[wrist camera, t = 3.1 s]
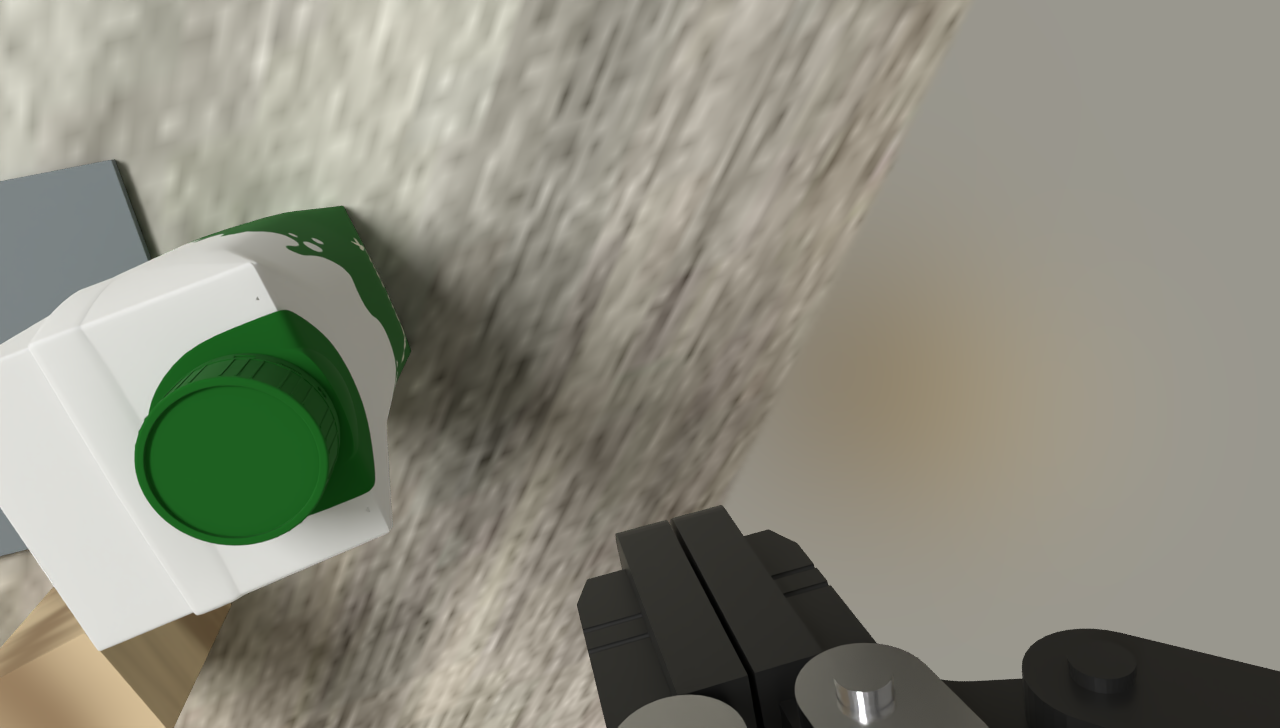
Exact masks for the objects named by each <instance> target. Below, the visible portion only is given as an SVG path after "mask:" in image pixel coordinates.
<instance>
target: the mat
mask: <svg viewBox="0 0 1280 728" xmlns="http://www.w3.org/2000/svg"><path fill="white" fill-rule="evenodd" d="M150 260H151V257H150V254H149V252H148V249H147V246H146V243H145V241H144V238H143V235H142V233H141V230H140V227H139V224H138V222H137V219H136V216H135V213H134V211H133V208H132V205H131V202H130V200H129V197H128V194H127V191H126V189H125V186H124V183H123V181H122V178H121V175H120V172H119V170H118V167H117V164H116V161H115V159H114V160H108V161H103V162H98V163H93V164H87V165H82V166H77V167H72V168H67V169H62V170H56V171H51V172H46V173H41V174H36V175H31V176H26V177H20V178H15V179H10V180H5V181H0V345H1V344H2V343H4V342H6V341H7V340H9V339H11V338H12V337H14V336H16V335H17V334H19V333H21V332H22V331H24V330H26V329H27V328H29V327H31V326H32V325H34V324H36V323H38V322H39V321H41V320H43V319H44V318H46V317H48V316H49V315H51V314H52V312H53V311H54V310H55V309H56V308H57V307H58V306H59V305H60V304H61V303H62V302H64V301H65V300H66V299H67V298H69V297H70V296H71V295H73V294H74V293H76V292H77V291H79V290H81V289H84V288H87V287H89V286H92V285H95V284H97V283H100V282H103V281H105V280H108V279H111V278H113V277H115V276H117V275H119V274H121V273H123V272H126V271H128V270H130V269H132V268H134V267H137V266H139V265H141V264H143V263H145V262H147V261H150ZM27 549H28V548H27V546H26V545H25V543H24V542H23V540H22V539H21V537H20V536H19V534H18V533H17V531H16V530H15V528H14V527H13V525H12V524H11V523H10V521H9V520H8V518H7V517H6V515H5V514H4V512H3V511H2V509H1V508H0V556H3V555H7V554H11V553H15V552H19V551H23V550H27Z"/></svg>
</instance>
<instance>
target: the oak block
mask: <svg viewBox="0 0 1280 728" xmlns="http://www.w3.org/2000/svg"><path fill="white" fill-rule="evenodd" d="M230 607H231V603H229V604H226V605H224V606H222V607H220V608H217V609H215V610H212V611H210V612H207V613H205V614H201V615H196V614H195V613H191V614H189V615H186V616H184V617H182V618H179V619H177V620H174V621H172V622H170V623H167V624H165V625H162V626H160V627H158V628H155V629H153V630H150V631H148V632H146V633H143V634H141V635H138V636H136V637H134V638H131V639H129V640H126V641H124V642H122V643H119V644H117V645H114V646H112V647H109V648H107V649H104V650H102V651H98V650H97V649H96V647H95V646H94V644H93V643H92V641H91V640H90V639H89V637H88V636H87V634H86V633H85V631H84V630H83V628H82V627H81V625H80V624H79V622H78V621H77V619H76V618H75V617H74V615H73V614H72V612H71V611H70V609H69V608H68V606H67V605H66V603H65V602H64V600H63V599H62V597H61V596H60V595H59V593H58V592H57V590H56V589H55V587H53V588H52V589H51V590H50V592H49V593H48V594H47V595H46V596H45V597H44V598H43V600H42V601H41V602H40V603H39V604H38V605H37V606H36V608H35V609H34V610H33V611H32V612H31V613H30V615H29V616H28V617H27V618H26V619H25V620H24V621H23V623H22V624H21V625H20V626H19V627H18V628H17V629H16V631H15V632H14V633H13V634H12V635H11V636H10V638H9V639H8V640H7V641H6V642H5V643H4V644H3V646H2V647H1V648H0V728H174V726H175V724H176V722H177V719H178V717H179V715H180V713H181V711H182V709H183V707H184V705H185V702H186V700H187V698H188V696H189V694H190V692H191V690H192V688H193V685H194V683H195V681H196V679H197V677H198V675H199V673H200V671H201V668H202V666H203V664H204V662H205V660H206V658H207V656H208V654H209V652H210V649H211V647H212V645H213V643H214V641H215V639H216V637H217V635H218V632H219V630H220V628H221V626H222V624H223V622H224V620H225V618H226V615H227V613H228V611H229V609H230Z"/></svg>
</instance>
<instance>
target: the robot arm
mask: <svg viewBox="0 0 1280 728" xmlns="http://www.w3.org/2000/svg"><path fill="white" fill-rule="evenodd" d="M616 542H617V548H618V552H619V557H620V561H621V566H622V570H620V571H617V572H613V573H609V574H606V575H602V576H598V577H595V578H591V579H588V580H587V581H586V584H585V586H584V589H583V591H582V594H581V596H580V598H579V601H578V603H577V607H578V611H579V616H580V620H581V624H582V628H583V632H584V636H585V640H586V645H587V649H588V653H589V657H590V661H591V665H592V669H593V673H594V678H595V682H596V686H597V690H598V694H599V698H600V702H601V707H602V711H603V715H604V719H605V723H606V727H607V728H1280V671H1275V670H1271V669H1267V668H1263V667H1259V666H1255V665H1251V664H1247V663H1243V662H1239V661H1234V660H1230V659H1226V658H1222V657H1217V656H1214V655H1210V654H1205V653H1201V652H1197V651H1193V650H1189V649H1185V648H1181V647H1177V646H1173V645H1169V644H1164V643H1160V642H1156V641H1151V640H1148V639H1144V638H1140V637H1136V636H1131V635H1127V634H1123V633H1118V632H1114V631H1108V630H1099V629H1073V630H1065V631H1061V632H1056V633H1053V634H1051V635H1048V636H1045V637H1044V638H1042V639H1040V640H1038V641H1037V642H1035V643H1034V644H1033V645H1032V646H1030V648H1029V649H1028V651H1027V652H1026V653H1025V656H1024V658H1023V661H1022V676H1023V679H1007V680H989V681H966V682H965V681H964V682H963V681H948V680H941V679H940V678H939V677H938V676H937V675H936V674H935V673H934V672H933V671H932V670H930V668H929V667H928V666H927V665H926V664H924V663H923V662H922V661H921V660H920V659H918V658H917V657H915V656H914V655H912V654H910V653H909V652H906V651H904V650H902V649H899V648H896V647H892V646H889V645H883V644H877V643H876V642H875V640H874V639H873V638H872V637H871V635H870V634H869V633H868V632H867V630H866V629H865V628H864V627H863V625H862V624H861V623H860V622H859V620H858V619H857V618H856V617H855V615H854V614H853V613H852V612H851V610H850V609H849V608H848V606H847V605H846V604H845V603H844V602H843V600H842V599H841V598H840V596H839V595H838V594H837V593H836V591H835V590H834V589H833V588H832V586H829V585H828V583H827V580H826V579H825V578H824V576H823V575H822V574H821V573H820V571H819V570H818V569H817V568H815V567H814V564H813V563H812V561H811V560H810V559H809V557H808V556H807V555H806V554H805V553H804V551H803V550H802V549H801V547H800V546H799V545H798V544H797V543H796V542H793V541H791V540H789V539H787V538H785V537H783V536H781V535H779V534H777V533H775V532H773V531H771V530H765V531H761V532H758V533H754V534H750V535H747V536H743V534H742V533H741V532H740V530H739V529H738V527H737V526H736V524H735V523H734V521H733V520H732V518H731V517H730V516H729V514H728V512H727V511H726V510H725V508H724V507H723V506H722V505H720V506H716V507H712V508H709V509H705V510H701V511H698V512H694V513H690V514H686V515H683V516H679V517H675V518H672V519H671V520H670V524H669V522H668V521H667V520H665V521H661V522H657V523H654V524H650V525H646V526H642V527H639V528H635V529H631V530H628V531H624V532H620V533H616Z"/></svg>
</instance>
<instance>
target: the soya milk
mask: <svg viewBox="0 0 1280 728" xmlns="http://www.w3.org/2000/svg"><path fill="white" fill-rule="evenodd" d="M410 353H411V349H410V347H409V344H408V341H407V338H406V336H405V333H404V330H403V328H402V325H401V323H400V321H399V319H398V316H397V314H396V312H395V309H394V307H393V305H392V303H391V300H390V298H389V296H388V294H387V291H386V289H385V287H384V285H383V283H382V281H381V279H380V277H379V275H378V273H377V271H376V269H375V267H374V265H373V263H372V261H371V259H370V257H369V255H368V253H367V251H366V249H365V247H364V245H363V243H362V241H361V239H360V237H359V235H358V233H357V231H356V229H355V227H354V226H353V224H352V222H351V220H350V218H349V216H348V214H347V212H346V210H345V208H344V206H337V207H328V208H319V209H310V210H302V211H294V212H287V213H282V214H278V215H274V216H270V217H266V218H262V219H259V220H255V221H252V222H249V223H245V224H242V225H239V226H235V227H232V228H229V229H226V230H223V231H220V232H217V233H214V234H211V235H208V236H205V237H203V238H200V239H197V240H194V241H192V242H190V243H187V244H185V245H183V246H180V247H178V248H176V249H174V250H172V251H169V252H167V253H165V254H163V255H161V256H158V257H156V258H154V259H152V260H150V261H147V262H145V263H143V264H141V265H139V266H137V267H134V268H132V269H130V270H128V271H126V272H123V273H121V274H119V275H117V276H115V277H113V278H111V279H108V280H105V281H103V282H100V283H97V284H95V285H92V286H89V287H87V288H84V289H81V290H79V291H77V292H76V293H74V294H73V295H71V296H70V297H69V298H67V299H66V300H65V301H64V302H62V303H61V304H60V305H59V306H58V307H57V308H56V309H55V310H54V311H53V312H52V314H51V315H49V316H48V317H46V318H44V319H43V320H41V321H39V322H38V323H36V324H34V325H32V326H31V327H29V328H27V329H26V330H24V331H22V332H21V333H19V334H17V335H16V336H14V337H12V338H11V339H9V340H7V341H6V342H4V343H2V344H1V345H0V508H1V509H2V511H3V512H4V514H5V515H6V517H7V518H8V520H9V521H10V523H11V524H12V525H13V527H14V528H15V530H16V531H17V533H18V534H19V536H20V537H21V539H22V540H23V542H24V543H25V545H26V546H27V548H28V549H29V550H30V552H31V553H32V555H33V556H34V558H35V559H36V561H37V562H38V564H39V565H40V567H41V568H42V570H43V571H44V572H45V574H46V575H47V577H48V578H49V580H50V581H51V583H52V584H53V586H54V587H55V589H56V590H57V592H58V593H59V595H60V596H61V597H62V599H63V600H64V602H65V603H66V605H67V606H68V608H69V609H70V611H71V612H72V614H73V615H74V617H75V618H76V619H77V621H78V622H79V624H80V625H81V627H82V628H83V630H84V631H85V633H86V634H87V636H88V637H89V639H90V640H91V641H92V643H93V644H94V646H95V647H96V649H97V650H98V651H102V650H104V649H107V648H109V647H112V646H114V645H117V644H119V643H122V642H124V641H126V640H129V639H131V638H134V637H136V636H138V635H141V634H143V633H146V632H148V631H150V630H153V629H155V628H158V627H160V626H162V625H165V624H167V623H170V622H172V621H174V620H177V619H179V618H182V617H184V616H186V615H189V614H191V613H195V614H196V615H201V614H205V613H207V612H210V611H212V610H215V609H217V608H220V607H222V606H224V605H226V604H229V603H231V602H233V601H235V600H237V599H239V598H240V597H242V596H243V595H245V594H247V593H250V592H252V591H255V590H257V589H259V588H262V587H264V586H267V585H269V584H271V583H274V582H276V581H278V580H281V579H283V578H285V577H288V576H290V575H292V574H295V573H297V572H299V571H302V570H304V569H306V568H309V567H311V566H313V565H315V564H318V563H320V562H322V561H325V560H327V559H329V558H332V557H334V556H336V555H339V554H341V553H343V552H346V551H348V550H350V549H353V548H355V547H357V546H360V545H362V544H364V543H366V542H369V541H371V540H373V539H376V538H378V537H380V536H383V535H385V534H387V533H389V531H390V529H391V528H392V527H393V521H392V505H391V490H390V475H389V457H388V438H387V419H388V415H389V411H390V406H391V402H392V398H393V394H394V390H395V386H396V382H397V380H398V378H399V376H400V374H401V371H402V369H403V367H404V365H405V363H406V361H407V359H408V357H409V355H410Z"/></svg>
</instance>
